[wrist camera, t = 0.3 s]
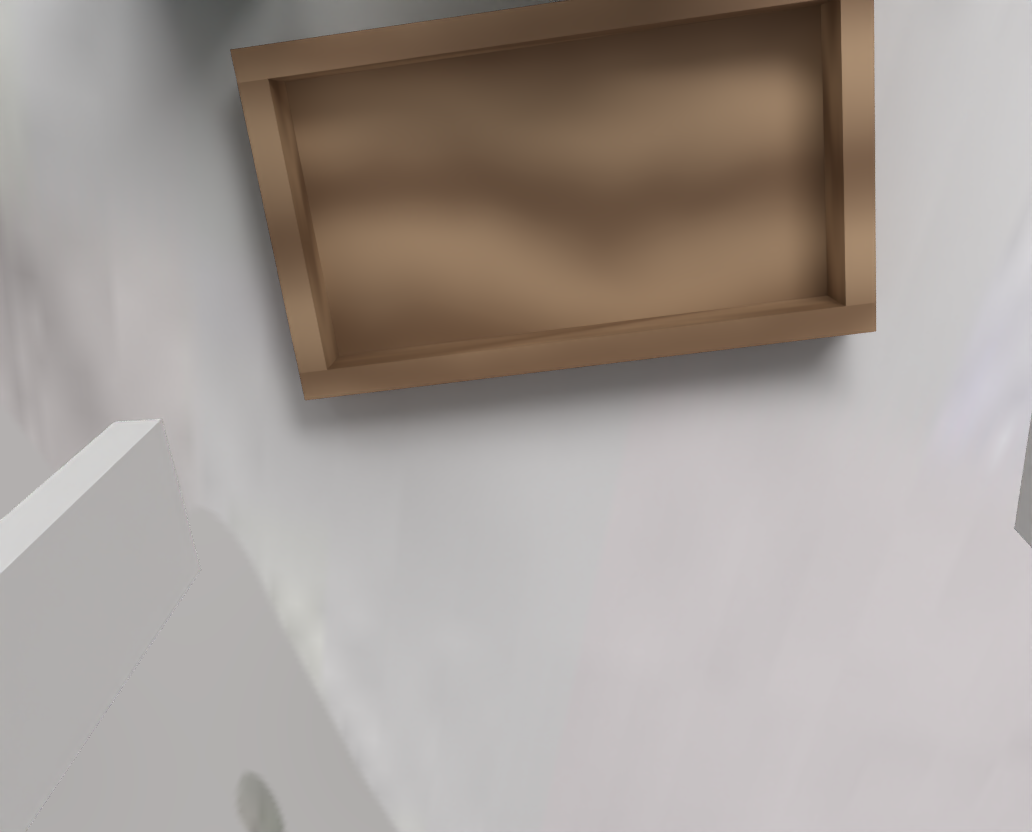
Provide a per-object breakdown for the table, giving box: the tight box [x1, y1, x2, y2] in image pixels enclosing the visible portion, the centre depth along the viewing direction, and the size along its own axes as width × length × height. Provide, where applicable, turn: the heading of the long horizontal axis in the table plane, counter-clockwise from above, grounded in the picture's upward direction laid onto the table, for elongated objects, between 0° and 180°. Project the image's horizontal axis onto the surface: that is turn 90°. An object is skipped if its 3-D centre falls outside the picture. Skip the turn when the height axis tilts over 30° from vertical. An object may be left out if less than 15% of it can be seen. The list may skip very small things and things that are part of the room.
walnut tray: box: [230, 0, 876, 400], centre depth 36 cm, size 14×24×3 cm, turn 97°
